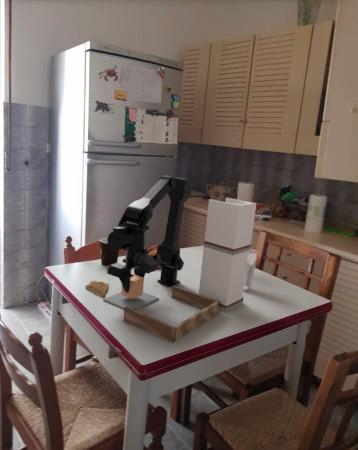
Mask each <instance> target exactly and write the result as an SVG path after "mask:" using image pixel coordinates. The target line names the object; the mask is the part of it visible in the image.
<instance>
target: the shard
mask: <svg viewBox="0 0 358 450" xmlns="http://www.w3.org/2000/svg"><path fill="white" fill-rule="evenodd" d="M109 285H110V284H109V283H108V282H105V281H97V280H90V282H89V283H88V284H86V285H85V286H84V287H85V289H87V290H90V291H91V292H93V294H94V293H95V294H96V295H98V296H100V297H101V298H105V294H106V291H107V290H108V288H109Z"/></svg>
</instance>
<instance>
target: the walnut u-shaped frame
mask: <svg viewBox="0 0 358 450" xmlns="http://www.w3.org/2000/svg"><path fill="white" fill-rule="evenodd" d="M171 288H172V289H171V298H173V299H175V300H177V301H180V302H183V303H186V304H189V305H190V306H194V307H197V308H199V309H200V311H199V310H198V312H196V313H194V314H192V315H190V316H189V317H188V318H186V319H184V320H183V321H181V322H179V323H177V324H176V325H174V326H173V325H171V324H169V323H167V322H164V321H162V320H159V319H156V318H155V317H151V316H150V315H147V314H145V313H142V312H139V311H137V310H133V309H131V308H128V307H125V308H124V309H123V321H124V322H126V323H128V324H131V326H132V325H133V326H135V327H136V328H139V329H142V330H143V331H146V332H148V333H151V334H152V335H155V336H157V337H159V338H161V339H163V340H165V341H168V342H170V343H173V344H174V343H176V342H177V341H178V340H180V339H181V338H184V337H185V336H187V335H188V334H189V333H191V332H192V331H194V330H196V329H197V328H198V327H200V326H202V325H203V324H205V323H206V322H208V321H210V320H211V319H213V318H214V317H215V316H217V315H218V314H219V313H220V309H219V307H220V301H217V300H214V299H211V298H208V297H205V296H202V295H200V294H199V293H197V292H193V291H191V290H187V289H185V288H183V287H179V286H176V285H173V286H171Z"/></svg>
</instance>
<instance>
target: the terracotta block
mask: <svg viewBox="0 0 358 450" xmlns="http://www.w3.org/2000/svg"><path fill="white" fill-rule="evenodd" d="M132 274H133V275H134V276H133V277H132V278H131V279H130V287H129V292H128V293H126V292H125V290H124V288H123V286H122V285H121V291H120V292H121V295H124V296H126V297H129V298H131V299H134V298H136V297H139V296H141V295H143V292H144V285H145V283H144V282H145V276H144V277H141V276H138V275H135V274H134V273H132Z"/></svg>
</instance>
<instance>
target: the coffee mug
mask: <svg viewBox="0 0 358 450" xmlns="http://www.w3.org/2000/svg"><path fill="white" fill-rule="evenodd" d="M107 238H108V237H104V238H100V239H99V248H100V249H99V250H100V262H101V263H100V264H101V265H102V266H104V267H108V266H110V265H112V264H115V263H118V260H119V254H120V250H117V251H114V250H112V249H111V248H110V247H109V245H108V242H107Z"/></svg>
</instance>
